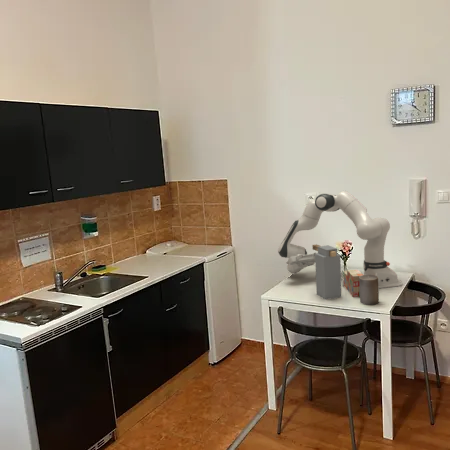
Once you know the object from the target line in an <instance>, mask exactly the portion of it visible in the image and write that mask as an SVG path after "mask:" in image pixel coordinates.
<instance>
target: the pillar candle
mask: <svg viewBox="0 0 450 450" xmlns="http://www.w3.org/2000/svg"><path fill="white" fill-rule="evenodd" d="M359 286H360V297H359V302H360V304H364V305H367V306H372V305H377V304H379V302H380V300H379V299H380V298H379V295H380V293H379V291H380V288H378V277H377V276H375V275H364V274H363V275H362V276H360V277H359Z"/></svg>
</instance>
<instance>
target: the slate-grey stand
mask: <svg viewBox="0 0 450 450" xmlns="http://www.w3.org/2000/svg"><path fill="white" fill-rule="evenodd" d="M329 251H335V252H336V256H334V257H331V256H329ZM316 253H317V254H315V264H314V265H315V282H316V283H315V284H316V285H315V286H316V290H315V291H316V295H317V296H318V297H320V298H321V299H323V300H331V299H332V300H333V299H337V298H338V299H339V298H342V271H341V270H342V268H341V265H342V264H341V254H339V253H338V248H336V247H334V246H331V245H320V246H319V247H318V251H317V252H316Z"/></svg>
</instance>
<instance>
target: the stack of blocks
mask: <svg viewBox="0 0 450 450" xmlns="http://www.w3.org/2000/svg"><path fill="white" fill-rule="evenodd" d="M362 275H364V273H362V272H361V271H360V270H359V269H347V270H343V271H342V278H343V279H342V280H343V286H344V288H345V289H346V291H348V293H349V294H350V296H351V297H353V298H360V286H359V277H360V276H362Z"/></svg>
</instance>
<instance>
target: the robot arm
mask: <svg viewBox="0 0 450 450" xmlns="http://www.w3.org/2000/svg"><path fill="white" fill-rule="evenodd" d="M339 210H341V212H343V213H344V214H345V215H346V217H348V218H349V219H350V220H351V222H352V223H353V225H354V226H355V228H356V235H357V236H358V238H360V239H361V240H364V241H365V240H366V241H367V242H366V243H365V246H364V248H363V253H364V254H363V255H364V259H363V275H375V276H377V277H378V288H379V289H383V288H385V289H386V288H392V287H394V288H395V287H401V286H403V282H402V280H400V279H399V277H398V274H397V272H396V271H394V270H393V269H391V268H390V267H389V266H390V265H391V263H390V262H389V261H387V260H385V244H386V240H387V239H386V238H387V236H388V232H389V231H390V229H391V225H390V221H388V220H387V219H386V218H384V217H376V218H372V217H370V215H369V213H368V208H367V207H365V205H364V204H362V203H361V201H360V200H358V198H356V197H355V196H354V195H352V194H351V193H350V192H348V191H346V190H342V191H340V192H338V193H337V194H332V193H321V194H318V195H317V196H316V197H315V199H311V200H309V201H308V202H307V204H306V206H305V207H304V209H303V213H302V215H301V217H300V218H299V219H297V220H295V221H294V222H293V223H292V225H291V226H290V227H289V228H290V229H289V230H288V232H287V234H286V235H285V237H284V239H283V240H282V242H281V243H280V245H279V246H278V249H277V253H278V255H279V256H280V257H281V258H285V259H287V260H288V261H287V262H286V264H287V266H286V269H287V272H288V273H290V274H297V273H300V272H301V271H302V270H303V269H306V268H307V267H310V266H313V265H316V264H315V254H317V253H318V252H313V253H308V251H307V249H306V248H305V247H303V246H300V245H296V244H294V243H291V242H292V240H293V239H294V237H295V235H296V234H297V233H299V232H301V231H311V230H314V229H315V228H316V227H317V225H318V224H319V222H320V218H321V216H322V214H323V213H324V212H327V213H328V212H329V213H330V212H337V211H339Z"/></svg>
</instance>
